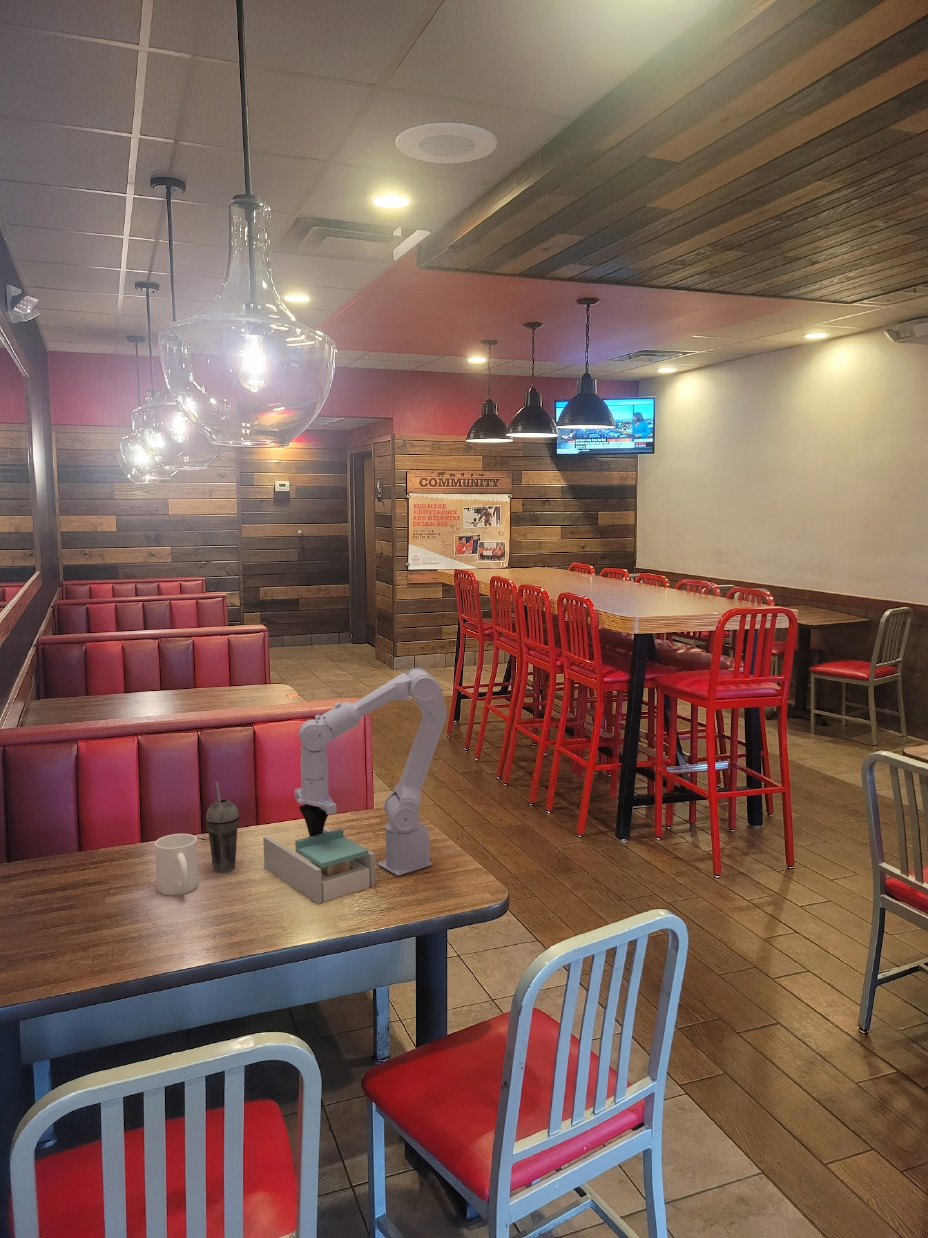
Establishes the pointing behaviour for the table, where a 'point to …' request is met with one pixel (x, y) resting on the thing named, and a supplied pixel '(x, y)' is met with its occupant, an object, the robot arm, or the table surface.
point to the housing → (317, 873)
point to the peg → (335, 868)
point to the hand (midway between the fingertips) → (315, 838)
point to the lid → (329, 848)
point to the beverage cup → (222, 833)
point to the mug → (176, 864)
